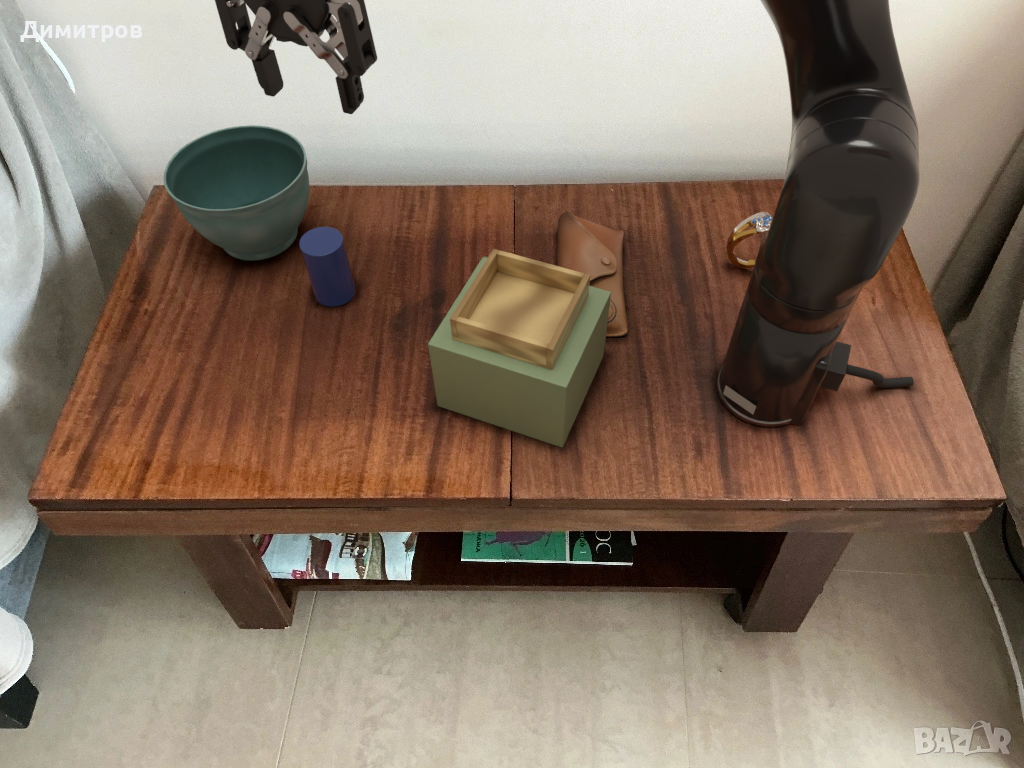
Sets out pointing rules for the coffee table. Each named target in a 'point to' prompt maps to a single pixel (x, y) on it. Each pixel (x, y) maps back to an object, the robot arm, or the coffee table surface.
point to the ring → (761, 225)
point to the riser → (521, 375)
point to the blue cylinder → (327, 266)
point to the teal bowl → (242, 189)
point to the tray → (521, 308)
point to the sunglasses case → (595, 262)
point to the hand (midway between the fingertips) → (313, 100)
